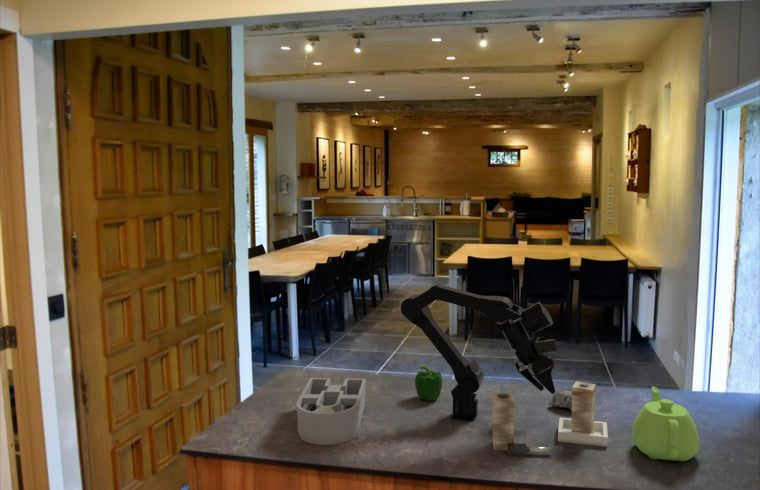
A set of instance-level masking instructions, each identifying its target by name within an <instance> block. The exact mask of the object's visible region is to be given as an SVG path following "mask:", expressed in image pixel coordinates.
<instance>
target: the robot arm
mask: <svg viewBox="0 0 760 490" xmlns="http://www.w3.org/2000/svg"><path fill="white" fill-rule="evenodd" d="M436 300H437V301H442V302H445V303H448V304H453V305H456V306H460V307H464V308H468V309H470V310H474V311H477V312H479V313H481V314H482V315H484V316H485V317H487V318H489V319H492V320H494V321H496V322H495V328H494V331H493V333H494V334H498V333H499V332H502V334H503V336H504V338H505V340H506V341H507V343H508V344H509V347H510V348H509V350H510V352H511V353H513V354H514V355H515V358H516V359H514V360H513V361H512V364H511V366H512V368H513V370H514V371H515V372H517V374H519V375H520V376H521V377H523V378H524V379H525V380H526V381H527V382H529V383H530V384H531V385H532V386H534V387H535V388H536V389H537V390H539V392H542V391H543V390H544V389H545V390H547V392H549V393H550V394H551V395H554V393H556V388H555V385H554V380H553V377H552V371H553V368H554V367H555V364H556V362H555V360H554V359H553V357H552V356H550V355H545V353H550V352H554V353H555V352H556V353H557V352H558V346H557V345H558V344H557V340H556V339H546V337H544V336H540V337H536V340H535V339H534V338H530V335H529V334H528V332H529V333H532V334H535V333H537V332H540V331H542V330H543V329H545V328H548V327H551V326H552V325H554V322H553V319H552V316H551V315H550V313H549V311H548V310H547V309H546V307H544V306H543V304H542V303H541V301H538V302H535V303H534V304H533V305H531V306H529V307H528V308H523V307H521V306H519V305H516V304H515V303H513V302H512V300H511V299H510V298H509V297H506V296H501V295H480V294H477V293H472V292H469V291H466V290H461V289H457V288H454V287H451V286H450V287H449V286H446V285H443V284H442V283H436V284H433V285H432V286H431V287H429V289H428V290H426V291H425V292H422V293H421V294H412V295H411V296H409V297H408V298H406V299H403V301H402V302H401V304H400V312H401V314H402V315H403V317H405V318H406V319H407V320H408V321H409V322H410V323H412V324H413V325H415V326H416V327H418V328H420V329H421V331H422V332H423V333H424V334H425V336H426V337H427V339H428V340H429V341H430V342H431V344H432V345H433V346H434V347H435V349H436V350H437V352H438V353H439V354H440V355H441V357H442V358H443V359H444V361H445V362H446V363H447V364H448V365H449V367H450V368H451V370H452V374H453V376H454V379H455V381H456V384H455V386H454V387H453V389H452V390H451V391H450V393H451V397H452V414H451V415H450V416H451V419H455V420H456V419H457V420H463V421H464V420H466V421H475V419H476V417H478V415H479V399H477V391H478V390H479V389H480V387H482V385H483V383H484V380H485V375H484V372H483V370H484V369H483V368H482V367H481V366H479V365H478V363H477V361H476V360H475V359H474V358H472V359H471V360H469V359H467V358H465V357H464V356H463V355H462V354H461V352H460V351H459V350H458V348H457V347H456V346H455V344H454V343H453V342H452V341H451V340H450V338H449V337H448V335H447V334H446V333H445V331H444V330H443V329H442V328H441V326H439V324H438V323H437V322H436V321H435V319H434V318H433V314H432V311H431V309H430V304H432V303H433V302H435V301H436Z"/></svg>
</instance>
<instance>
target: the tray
mask: <svg viewBox="0 0 760 490" xmlns="http://www.w3.org/2000/svg"><path fill="white" fill-rule="evenodd" d="M571 419H572V418H569V417H559V420H558V431H557V442H562V443H571V444H577V445H578V444H579V445H588V446H595V447H596V446H597V447H604V448H608V444H609V443H608V442H609V441H608V439H609V436H608V435H609V434H608V424H607V423H608V422H605V421H596V420H595V426H594V434H587V433H578V432H571Z"/></svg>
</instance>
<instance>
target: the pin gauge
mask: <svg viewBox="0 0 760 490" xmlns="http://www.w3.org/2000/svg"><path fill="white" fill-rule="evenodd" d="M506 452H507V454H508V456H509V457H528V454H552V453H553V449H552V446H527V443H519V442H518V443H516V442H514V443H508V448H507V451H506Z"/></svg>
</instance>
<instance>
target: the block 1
mask: <svg viewBox="0 0 760 490" xmlns="http://www.w3.org/2000/svg"><path fill="white" fill-rule="evenodd" d="M508 443H515V396H514V392H513V393H511V392H492V448H493V451H506V452H507V448H508Z"/></svg>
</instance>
